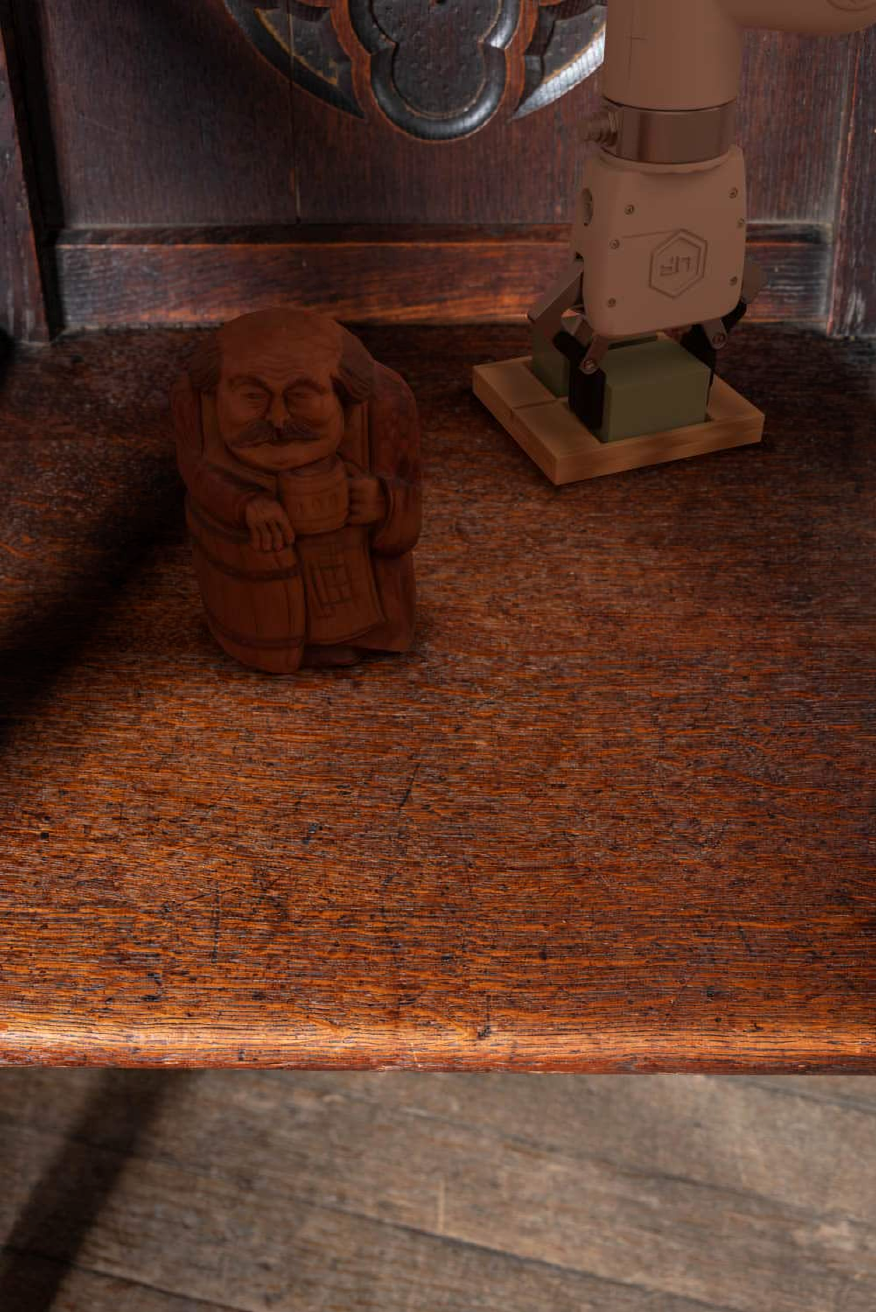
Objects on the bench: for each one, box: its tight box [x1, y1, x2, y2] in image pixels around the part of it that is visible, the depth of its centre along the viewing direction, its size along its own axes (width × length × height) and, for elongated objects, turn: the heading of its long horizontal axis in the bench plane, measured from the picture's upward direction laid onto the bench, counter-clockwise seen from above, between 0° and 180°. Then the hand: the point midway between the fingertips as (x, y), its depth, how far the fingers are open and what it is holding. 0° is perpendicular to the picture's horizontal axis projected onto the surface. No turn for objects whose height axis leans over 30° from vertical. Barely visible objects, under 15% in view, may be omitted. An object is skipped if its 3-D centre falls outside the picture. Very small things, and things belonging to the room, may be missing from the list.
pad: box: [593, 337, 711, 443], centre depth 82 cm, size 7×5×4 cm
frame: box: [472, 314, 766, 487], centre depth 85 cm, size 15×14×5 cm
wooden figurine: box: [169, 307, 423, 674], centre depth 62 cm, size 12×6×18 cm, turn 98°
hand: (639, 407), depth 82 cm, fingers closed on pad, 7 cm apart
